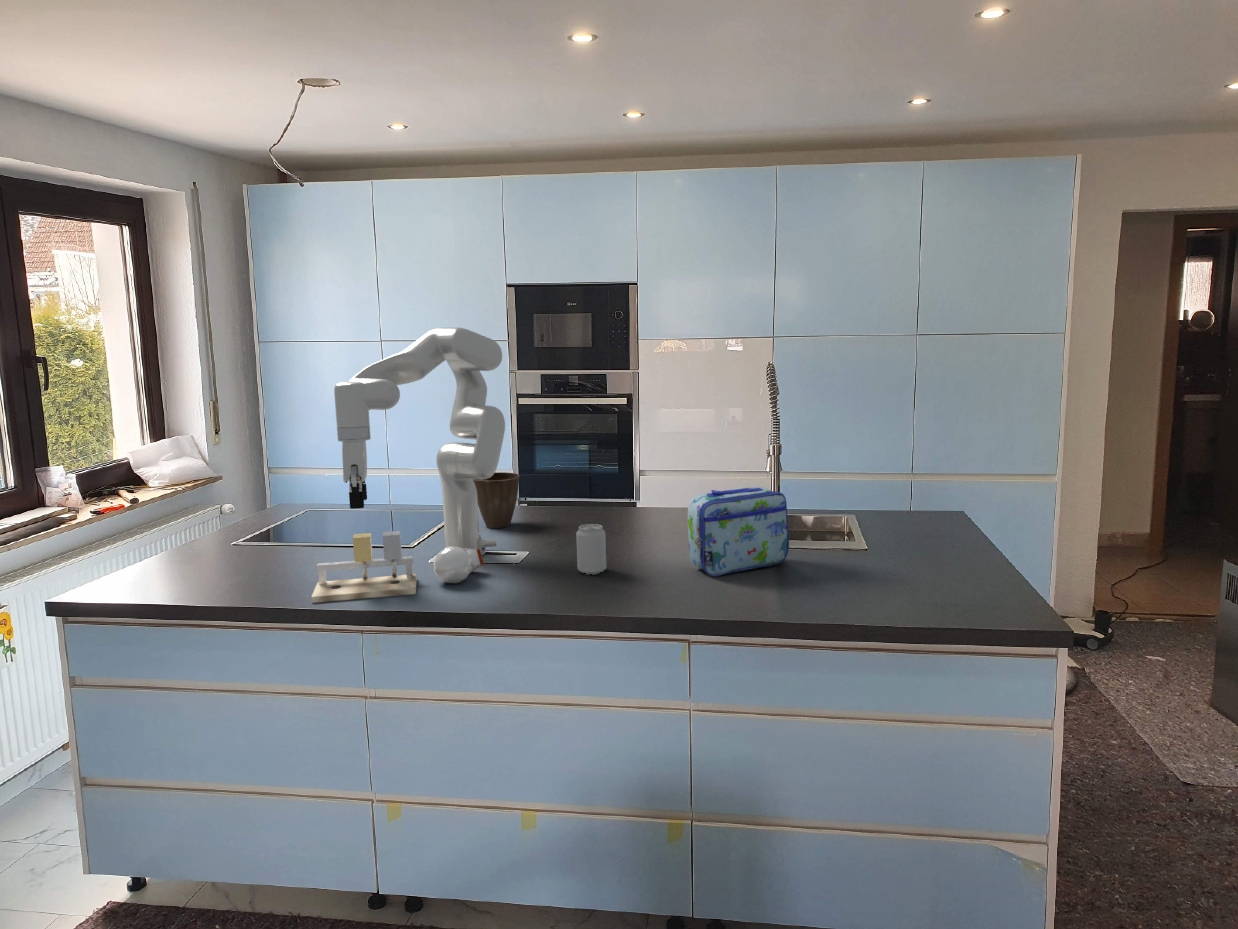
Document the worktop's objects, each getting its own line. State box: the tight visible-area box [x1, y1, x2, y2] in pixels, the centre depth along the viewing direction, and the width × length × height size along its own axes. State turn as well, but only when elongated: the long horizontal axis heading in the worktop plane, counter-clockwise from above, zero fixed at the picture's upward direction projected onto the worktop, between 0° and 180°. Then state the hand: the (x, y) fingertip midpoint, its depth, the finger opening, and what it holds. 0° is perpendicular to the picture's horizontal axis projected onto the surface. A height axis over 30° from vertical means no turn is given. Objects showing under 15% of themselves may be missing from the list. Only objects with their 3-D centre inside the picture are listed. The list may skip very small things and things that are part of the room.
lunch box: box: [687, 486, 790, 577], centre depth 226 cm, size 26×11×21 cm, turn 111°
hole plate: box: [310, 573, 417, 604], centre depth 216 cm, size 24×12×2 cm, turn 102°
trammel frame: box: [316, 530, 414, 585], centre depth 216 cm, size 23×7×12 cm, turn 102°
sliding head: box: [352, 532, 374, 581], centre depth 216 cm, size 4×7×12 cm, turn 12°
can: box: [575, 523, 607, 575], centre depth 227 cm, size 8×8×12 cm
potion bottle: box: [433, 546, 484, 584], centre depth 223 cm, size 9×10×15 cm
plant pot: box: [472, 471, 520, 529], centre depth 277 cm, size 15×15×16 cm
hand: (358, 504), depth 212 cm, fingers open, 9 cm apart
